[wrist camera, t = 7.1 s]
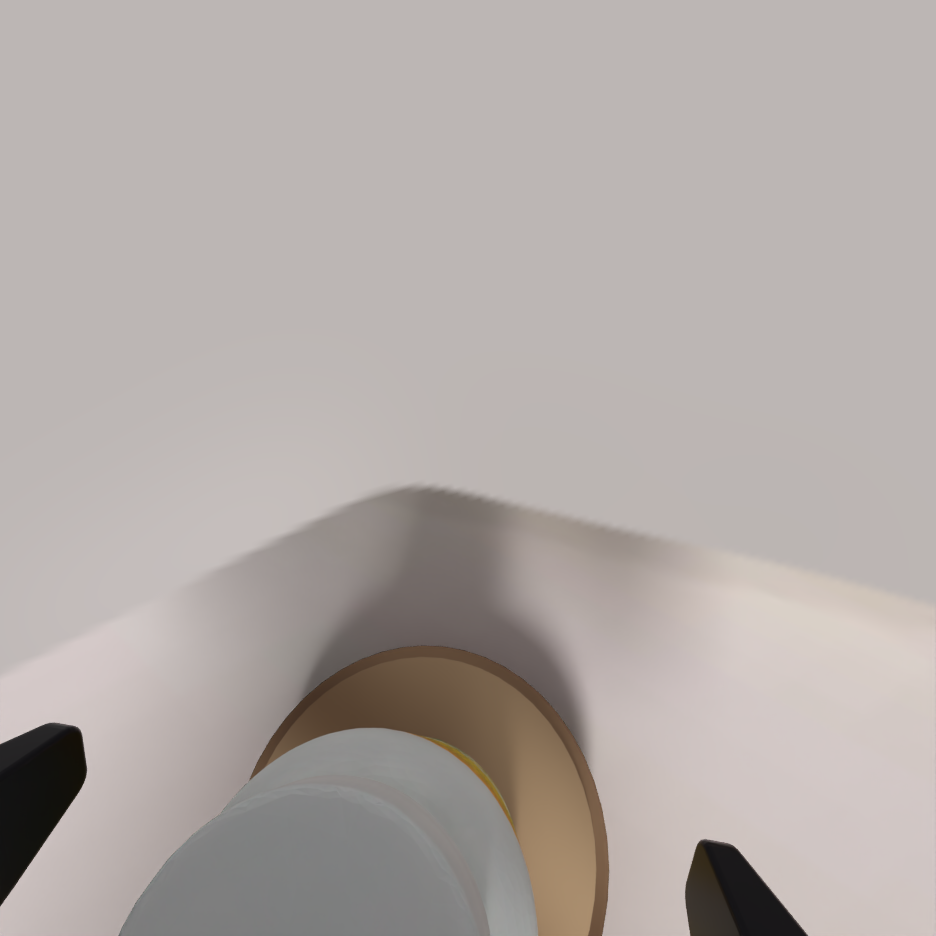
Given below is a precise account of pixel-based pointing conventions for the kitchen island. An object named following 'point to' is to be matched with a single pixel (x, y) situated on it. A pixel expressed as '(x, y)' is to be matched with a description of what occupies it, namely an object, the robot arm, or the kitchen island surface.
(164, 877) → the supplement bottle
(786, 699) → the kitchen island surface
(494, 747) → the pedestal
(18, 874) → the robot arm
